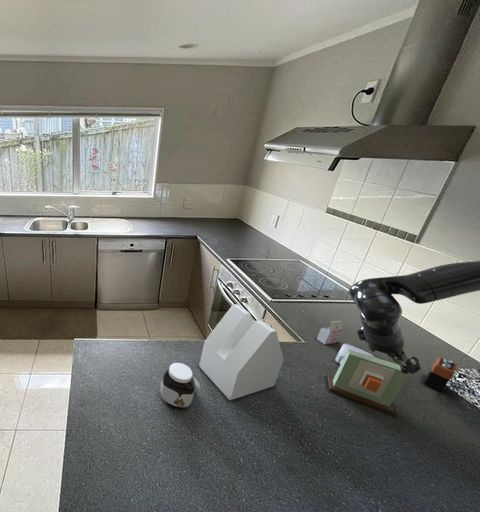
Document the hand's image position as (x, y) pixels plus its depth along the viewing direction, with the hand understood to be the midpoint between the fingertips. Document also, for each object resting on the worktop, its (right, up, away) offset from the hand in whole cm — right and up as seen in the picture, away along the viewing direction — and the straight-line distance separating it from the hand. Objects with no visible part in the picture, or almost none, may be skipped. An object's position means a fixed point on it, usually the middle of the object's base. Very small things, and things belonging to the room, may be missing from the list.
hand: (389, 359), depth 85 cm
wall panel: (-1, -15, +9) cm, 18 cm away
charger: (+8, -11, +22) cm, 25 cm away
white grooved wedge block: (-39, -11, +15) cm, 44 cm away
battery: (+31, -14, +15) cm, 38 cm away
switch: (-3, -10, +3) cm, 11 cm away
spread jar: (-62, -14, +6) cm, 64 cm away
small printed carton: (+10, -5, +35) cm, 37 cm away
